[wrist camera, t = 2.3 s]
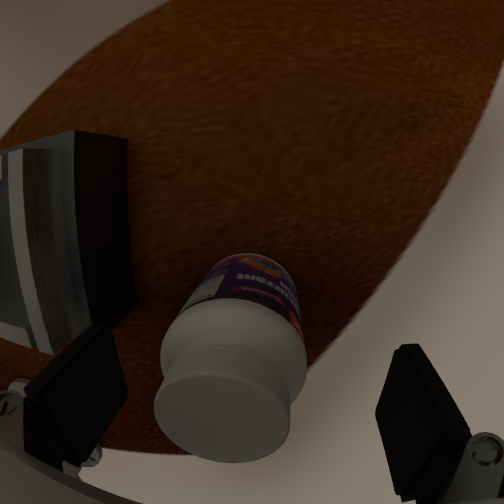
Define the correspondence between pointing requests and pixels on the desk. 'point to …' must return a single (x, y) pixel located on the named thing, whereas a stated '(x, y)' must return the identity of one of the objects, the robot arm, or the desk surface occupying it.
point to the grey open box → (63, 238)
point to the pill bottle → (233, 362)
